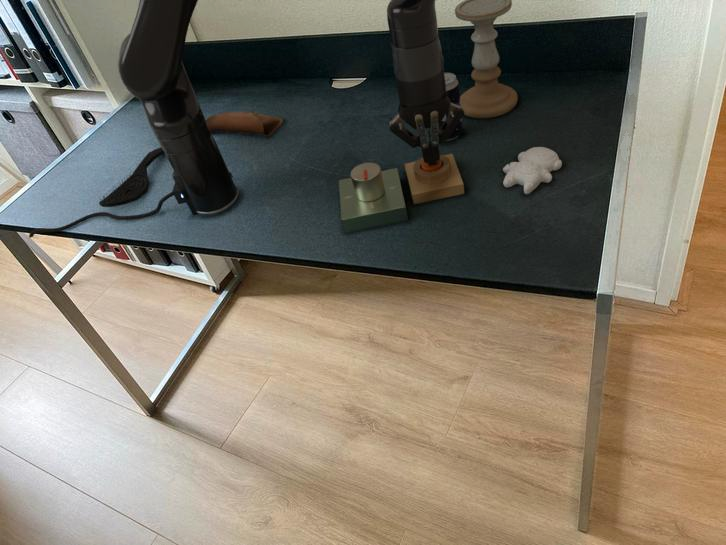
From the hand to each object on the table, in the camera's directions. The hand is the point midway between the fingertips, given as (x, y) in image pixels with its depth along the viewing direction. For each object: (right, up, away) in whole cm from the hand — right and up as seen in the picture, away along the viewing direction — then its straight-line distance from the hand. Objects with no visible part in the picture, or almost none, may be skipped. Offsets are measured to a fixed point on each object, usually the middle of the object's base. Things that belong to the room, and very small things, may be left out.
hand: (431, 162), depth 94 cm
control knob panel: (-10, -7, +2) cm, 13 cm away
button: (0, -1, +1) cm, 2 cm away
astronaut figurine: (+17, -2, -1) cm, 17 cm away
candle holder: (+14, +16, +19) cm, 29 cm away
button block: (+1, -3, +3) cm, 4 cm away
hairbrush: (-62, +1, +26) cm, 67 cm away
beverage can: (+5, +8, +13) cm, 16 cm away
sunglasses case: (-40, +15, +34) cm, 55 cm away
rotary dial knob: (-11, -5, 0) cm, 12 cm away
